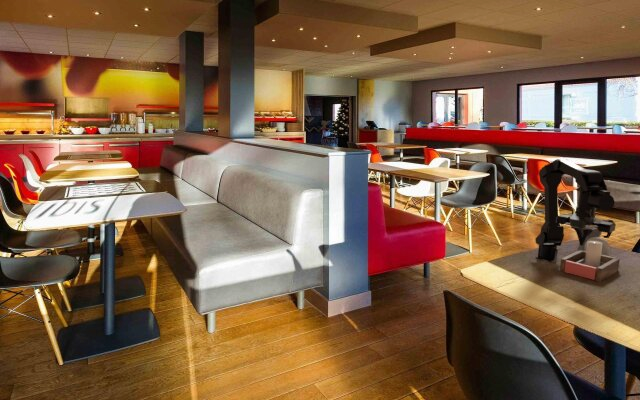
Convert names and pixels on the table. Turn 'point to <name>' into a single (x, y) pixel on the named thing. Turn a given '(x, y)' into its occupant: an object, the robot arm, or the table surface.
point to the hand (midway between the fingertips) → (581, 245)
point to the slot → (602, 271)
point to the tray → (581, 269)
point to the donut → (605, 246)
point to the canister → (593, 253)
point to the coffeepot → (596, 233)
